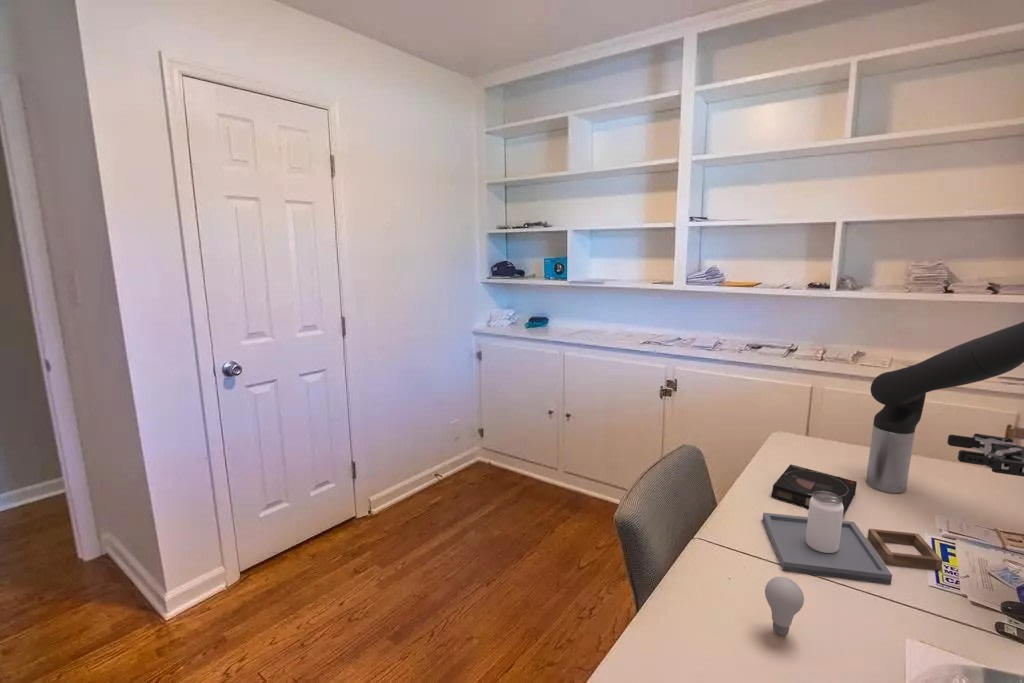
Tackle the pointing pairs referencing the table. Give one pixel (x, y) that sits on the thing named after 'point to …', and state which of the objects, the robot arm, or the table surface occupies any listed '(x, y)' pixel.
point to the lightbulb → (783, 602)
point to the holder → (899, 559)
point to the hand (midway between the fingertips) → (953, 447)
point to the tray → (846, 563)
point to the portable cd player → (811, 486)
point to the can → (824, 522)
